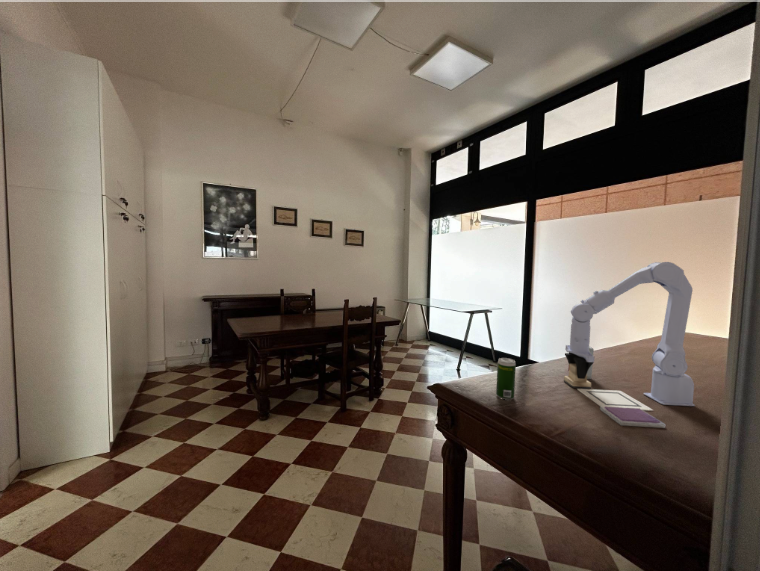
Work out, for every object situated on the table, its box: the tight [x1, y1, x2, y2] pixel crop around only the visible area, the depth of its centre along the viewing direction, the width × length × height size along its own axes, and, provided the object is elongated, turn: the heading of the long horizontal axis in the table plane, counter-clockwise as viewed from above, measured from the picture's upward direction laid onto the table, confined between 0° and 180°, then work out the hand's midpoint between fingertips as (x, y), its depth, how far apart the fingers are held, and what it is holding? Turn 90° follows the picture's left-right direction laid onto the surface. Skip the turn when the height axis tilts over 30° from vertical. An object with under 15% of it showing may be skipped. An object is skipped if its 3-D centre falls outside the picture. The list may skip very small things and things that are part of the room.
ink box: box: [567, 345, 595, 380], centre depth 120 cm, size 9×5×12 cm, turn 172°
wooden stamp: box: [563, 363, 592, 389], centre depth 110 cm, size 6×6×7 cm
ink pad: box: [599, 406, 666, 429], centre depth 86 cm, size 11×9×1 cm
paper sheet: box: [576, 388, 654, 412], centre depth 99 cm, size 14×14×1 cm
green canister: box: [495, 357, 517, 401], centre depth 99 cm, size 5×5×12 cm
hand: (577, 375), depth 110 cm, fingers closed on wooden stamp, 4 cm apart
